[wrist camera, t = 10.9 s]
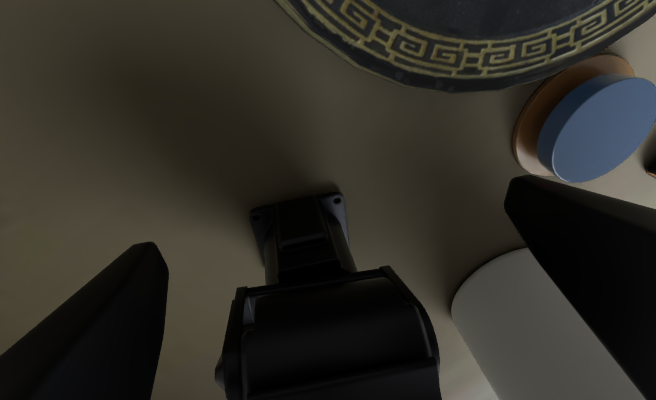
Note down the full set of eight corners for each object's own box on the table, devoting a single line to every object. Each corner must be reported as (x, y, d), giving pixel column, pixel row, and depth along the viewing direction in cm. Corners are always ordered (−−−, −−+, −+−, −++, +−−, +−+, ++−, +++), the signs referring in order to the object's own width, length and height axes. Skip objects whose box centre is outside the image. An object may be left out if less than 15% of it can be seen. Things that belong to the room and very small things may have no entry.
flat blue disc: (600, 157, 24) (630, 172, 23) (516, 175, 24) (539, 192, 22) (641, 60, 20) (682, 68, 18) (541, 79, 20) (572, 89, 18)
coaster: (601, 161, 25) (606, 164, 25) (501, 183, 25) (504, 186, 24) (652, 43, 20) (659, 44, 20) (529, 66, 20) (533, 67, 19)
